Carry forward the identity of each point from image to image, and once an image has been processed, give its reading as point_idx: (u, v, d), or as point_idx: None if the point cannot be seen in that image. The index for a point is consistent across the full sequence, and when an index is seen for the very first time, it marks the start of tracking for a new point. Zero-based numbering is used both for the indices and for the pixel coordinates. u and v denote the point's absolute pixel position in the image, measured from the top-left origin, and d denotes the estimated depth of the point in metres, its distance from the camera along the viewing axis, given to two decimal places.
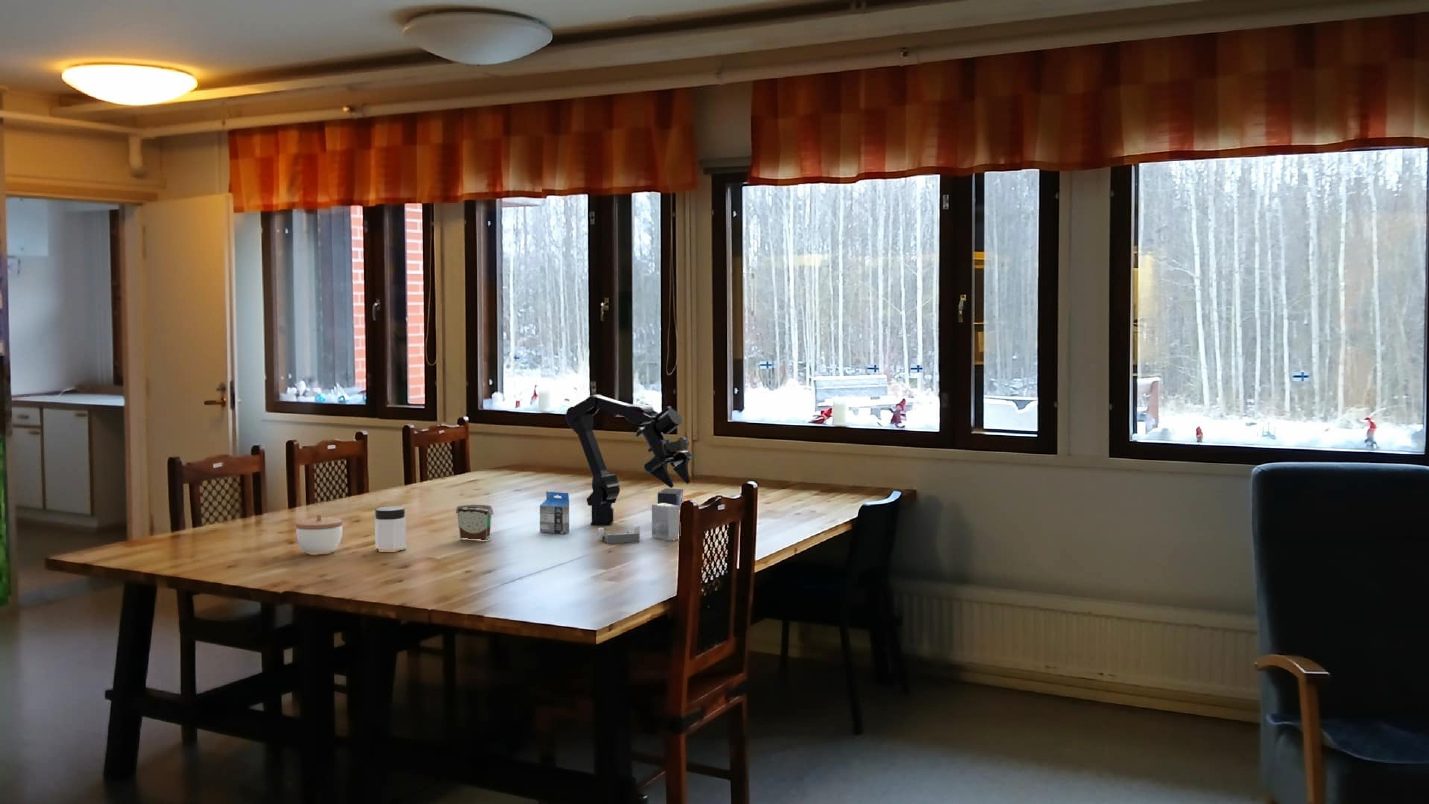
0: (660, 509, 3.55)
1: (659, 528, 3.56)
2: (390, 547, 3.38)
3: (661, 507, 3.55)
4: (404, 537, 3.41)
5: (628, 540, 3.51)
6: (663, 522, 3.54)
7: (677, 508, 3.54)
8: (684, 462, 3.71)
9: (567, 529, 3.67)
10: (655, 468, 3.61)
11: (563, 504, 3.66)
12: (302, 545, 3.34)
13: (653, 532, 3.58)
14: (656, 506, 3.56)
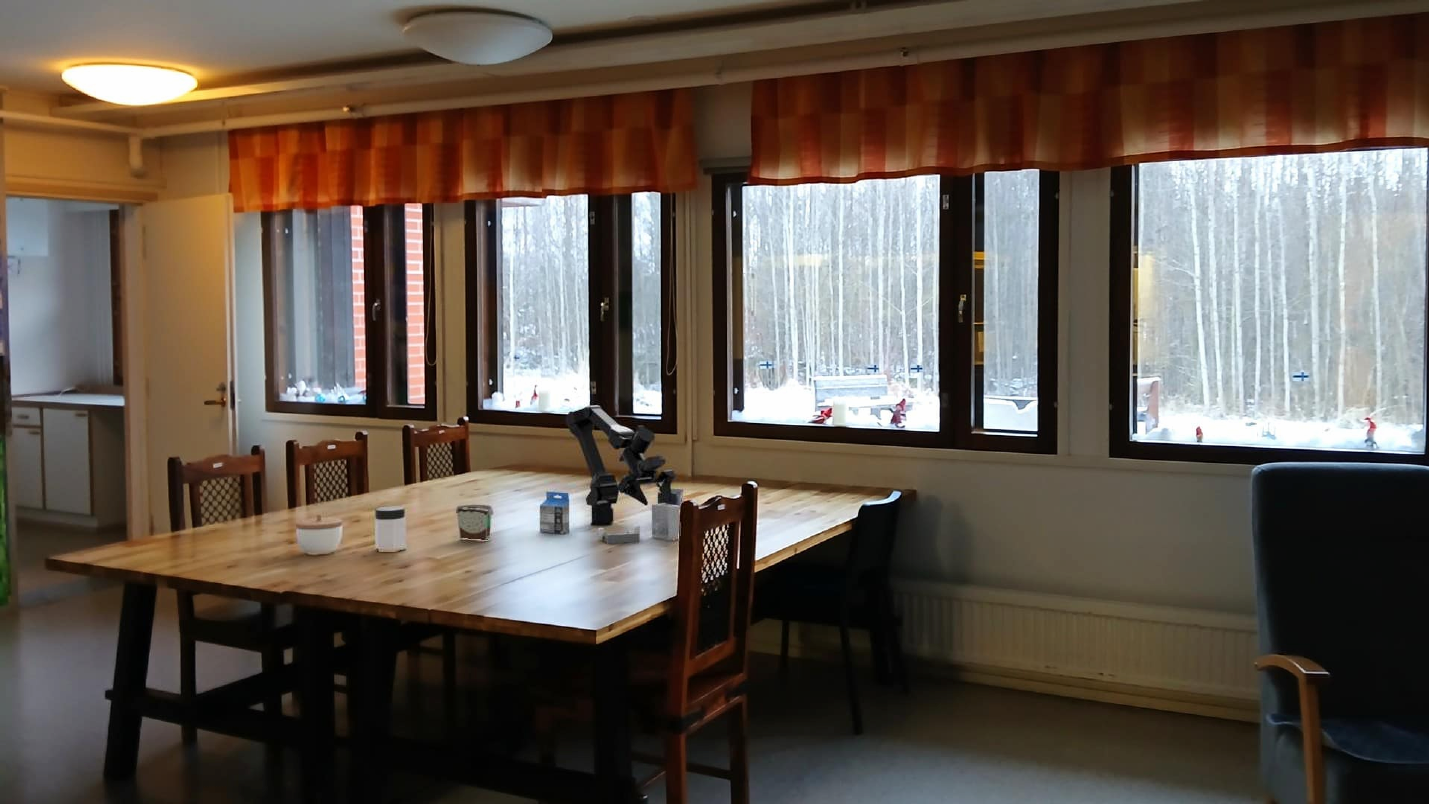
0: (660, 509, 3.55)
1: (659, 528, 3.56)
2: (390, 547, 3.38)
3: (661, 507, 3.55)
4: (404, 537, 3.41)
5: (628, 540, 3.51)
6: (663, 522, 3.54)
7: (677, 508, 3.54)
8: (666, 481, 3.64)
9: (567, 529, 3.67)
10: (627, 487, 3.57)
11: (563, 504, 3.66)
12: (302, 545, 3.34)
13: (653, 532, 3.58)
14: (656, 506, 3.56)
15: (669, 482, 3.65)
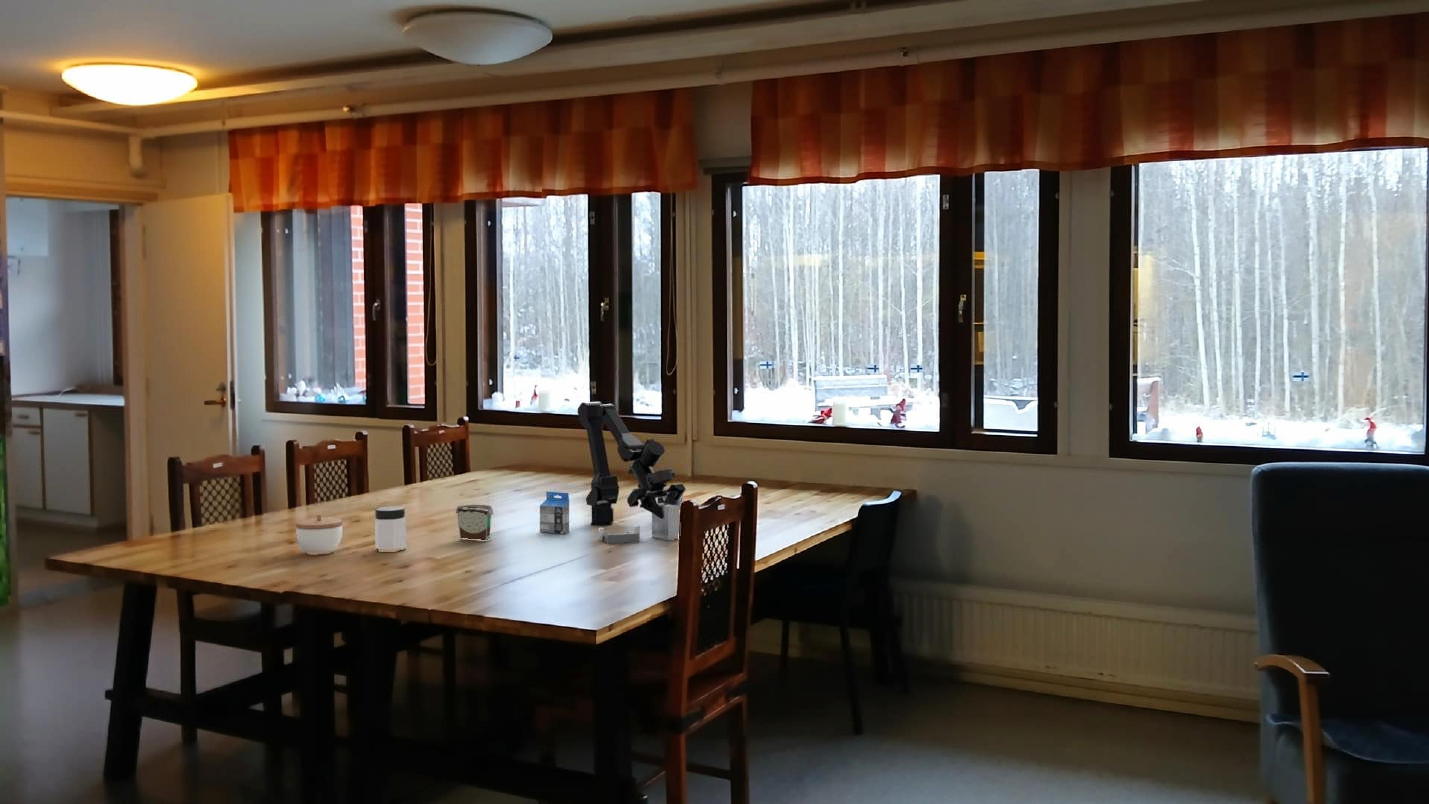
0: (660, 509, 3.55)
1: (659, 528, 3.56)
2: (390, 547, 3.38)
3: (661, 507, 3.55)
4: (404, 537, 3.41)
5: (628, 540, 3.51)
6: (663, 522, 3.54)
7: (677, 508, 3.54)
8: (670, 495, 3.60)
9: (567, 529, 3.67)
10: (643, 500, 3.55)
11: (563, 504, 3.66)
12: (302, 545, 3.34)
13: (653, 532, 3.58)
14: None
15: (673, 496, 3.60)
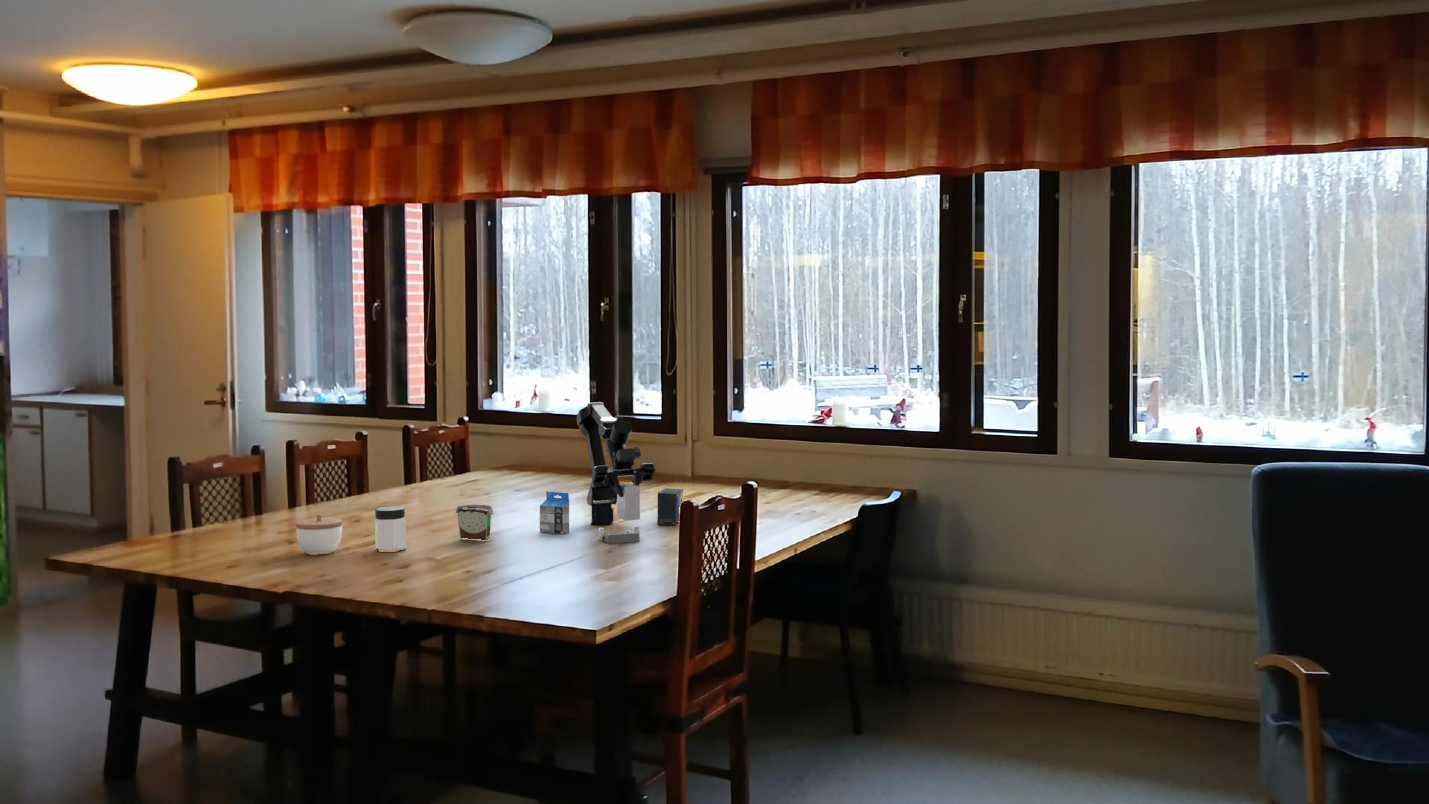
0: (621, 488, 3.54)
1: (620, 507, 3.55)
2: (390, 547, 3.38)
3: (621, 486, 3.54)
4: (404, 537, 3.41)
5: (628, 540, 3.51)
6: (622, 501, 3.53)
7: (636, 488, 3.52)
8: (635, 474, 3.57)
9: (567, 529, 3.67)
10: (605, 478, 3.56)
11: (563, 504, 3.66)
12: (302, 545, 3.34)
13: (617, 511, 3.58)
14: None
15: (639, 476, 3.58)
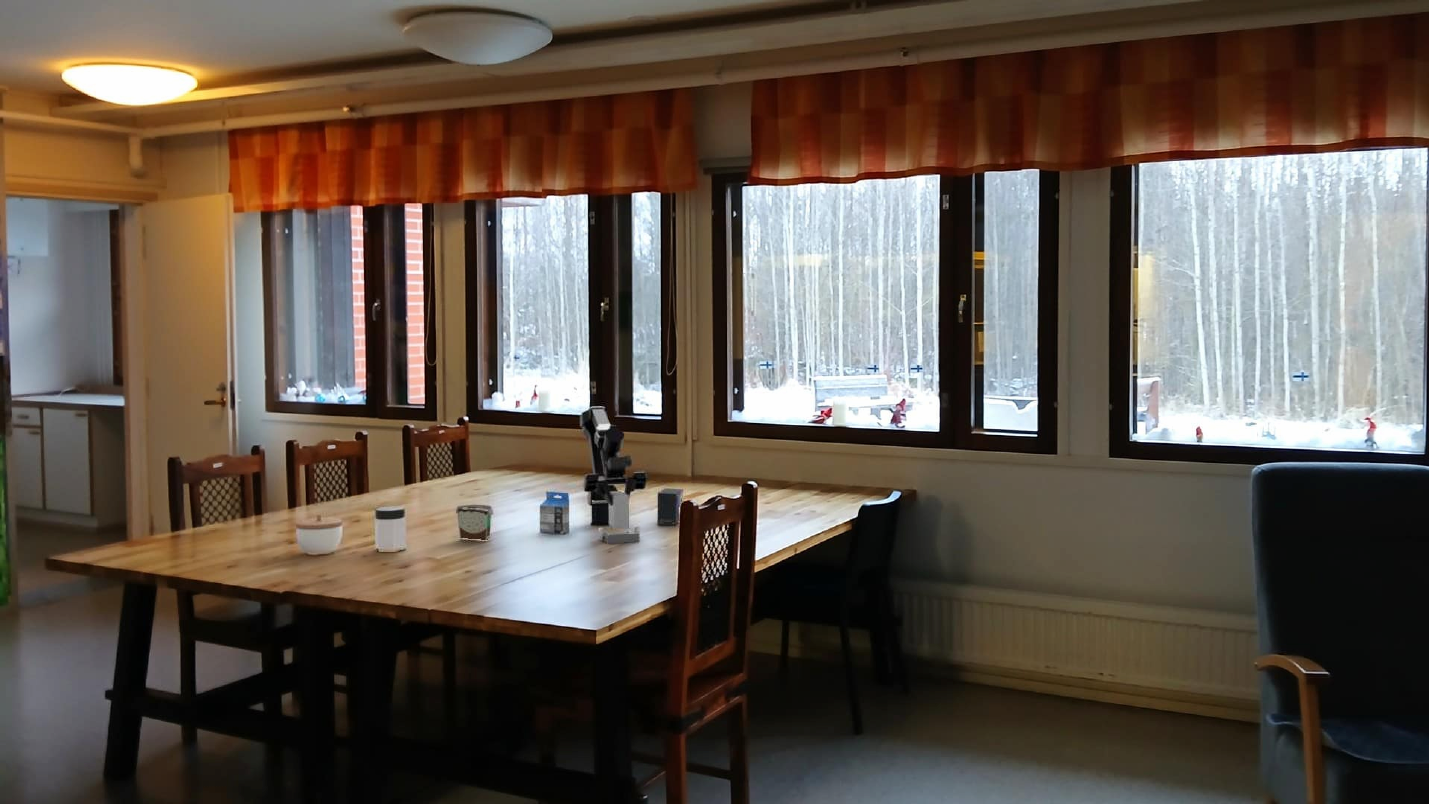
0: (611, 497, 3.55)
1: (611, 516, 3.56)
2: (390, 547, 3.38)
3: (611, 495, 3.54)
4: (404, 537, 3.41)
5: (628, 540, 3.51)
6: (612, 510, 3.54)
7: (625, 497, 3.52)
8: (626, 483, 3.58)
9: (567, 529, 3.67)
10: (597, 486, 3.57)
11: (563, 504, 3.66)
12: (302, 545, 3.34)
13: (609, 519, 3.59)
14: (610, 493, 3.57)
15: (630, 484, 3.58)
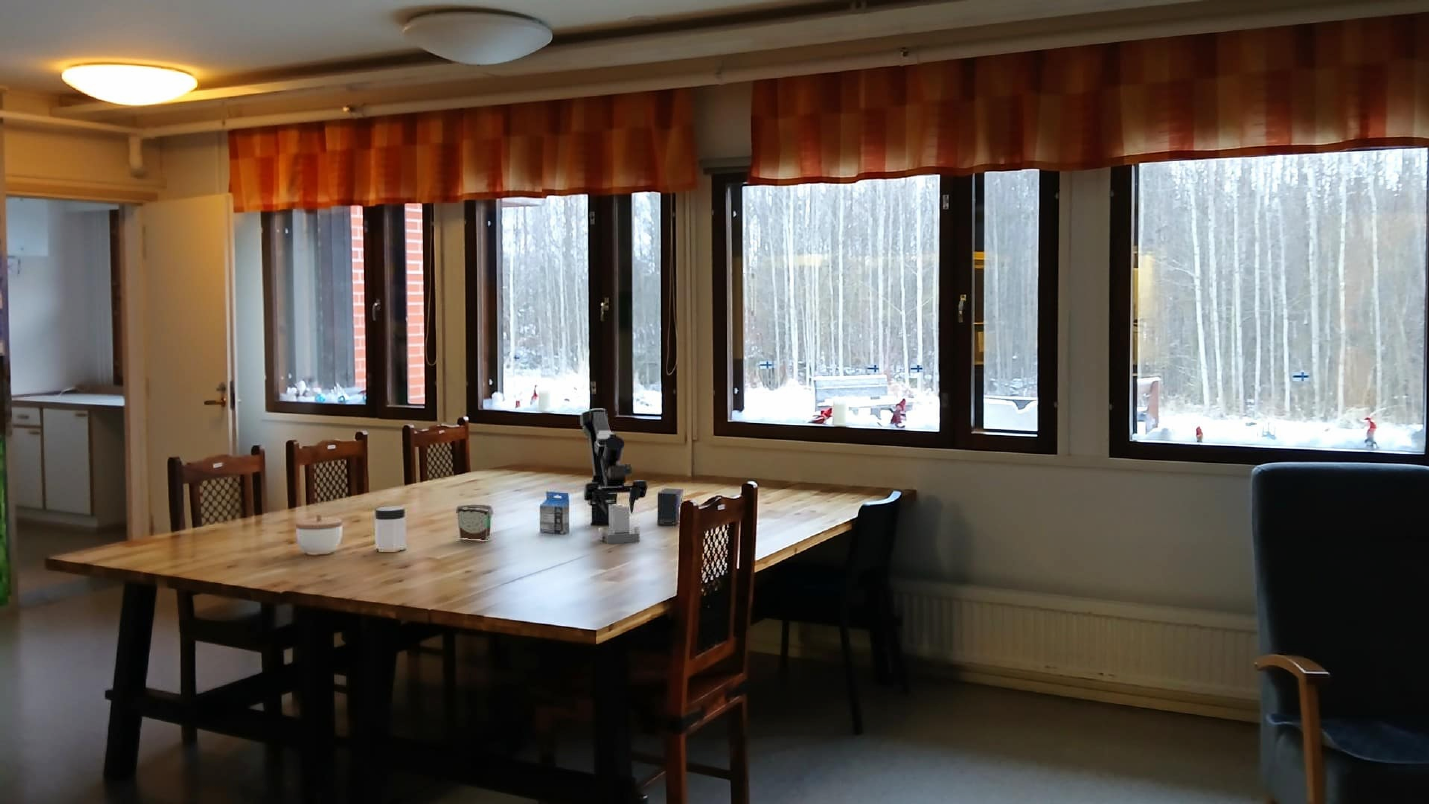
0: (611, 509, 3.55)
1: (611, 528, 3.56)
2: (390, 547, 3.38)
3: (611, 507, 3.54)
4: (404, 537, 3.41)
5: (628, 540, 3.51)
6: (612, 522, 3.54)
7: (625, 509, 3.52)
8: (631, 491, 3.58)
9: (567, 529, 3.67)
10: (592, 495, 3.57)
11: (563, 504, 3.66)
12: (302, 545, 3.34)
13: (609, 532, 3.59)
14: (610, 506, 3.57)
15: (634, 493, 3.58)
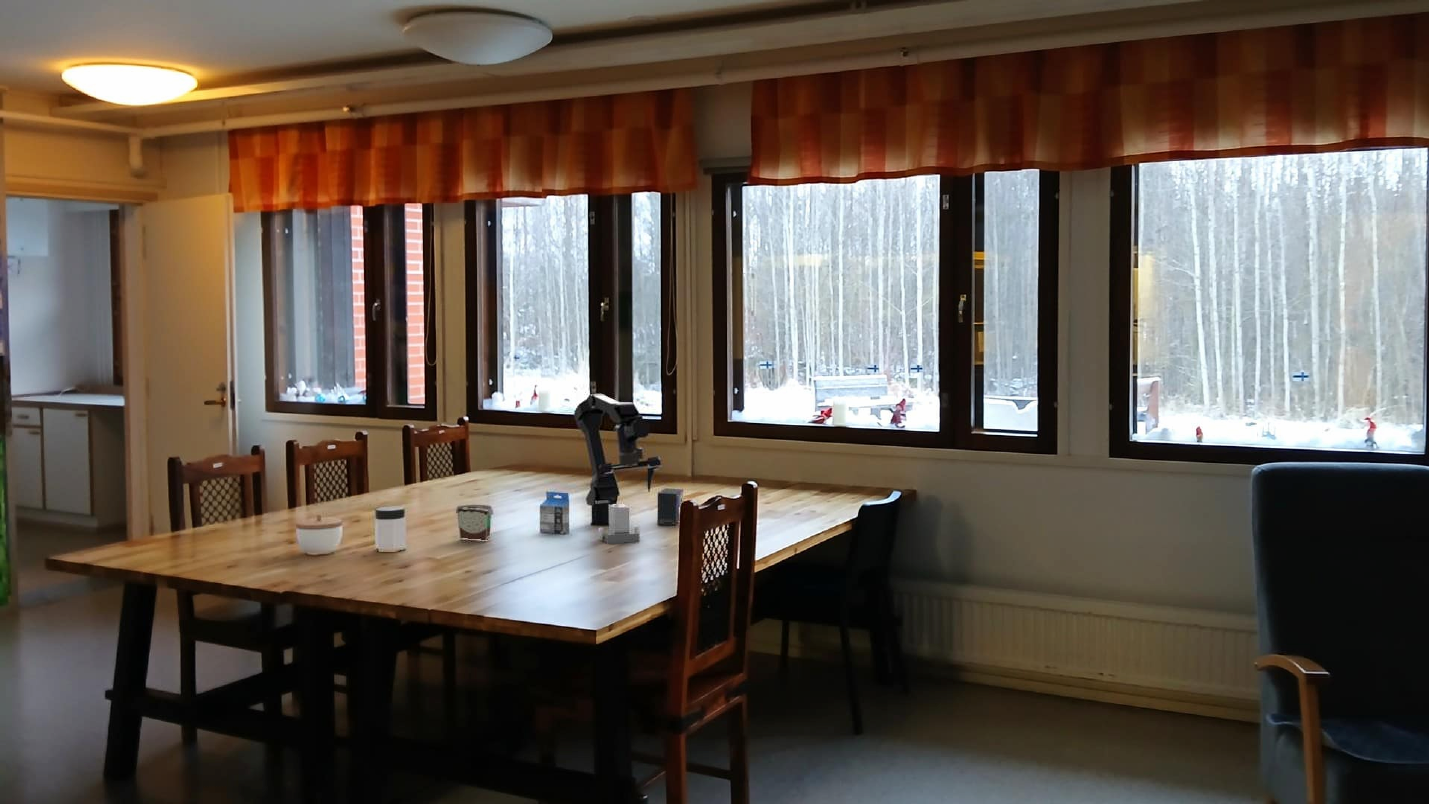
0: (611, 509, 3.55)
1: (611, 528, 3.56)
2: (390, 547, 3.38)
3: (611, 507, 3.54)
4: (404, 537, 3.41)
5: (628, 540, 3.51)
6: (612, 522, 3.54)
7: (625, 509, 3.52)
8: None
9: (567, 529, 3.67)
10: None
11: (563, 504, 3.66)
12: (302, 545, 3.34)
13: (609, 532, 3.59)
14: (610, 506, 3.57)
15: (651, 472, 3.63)
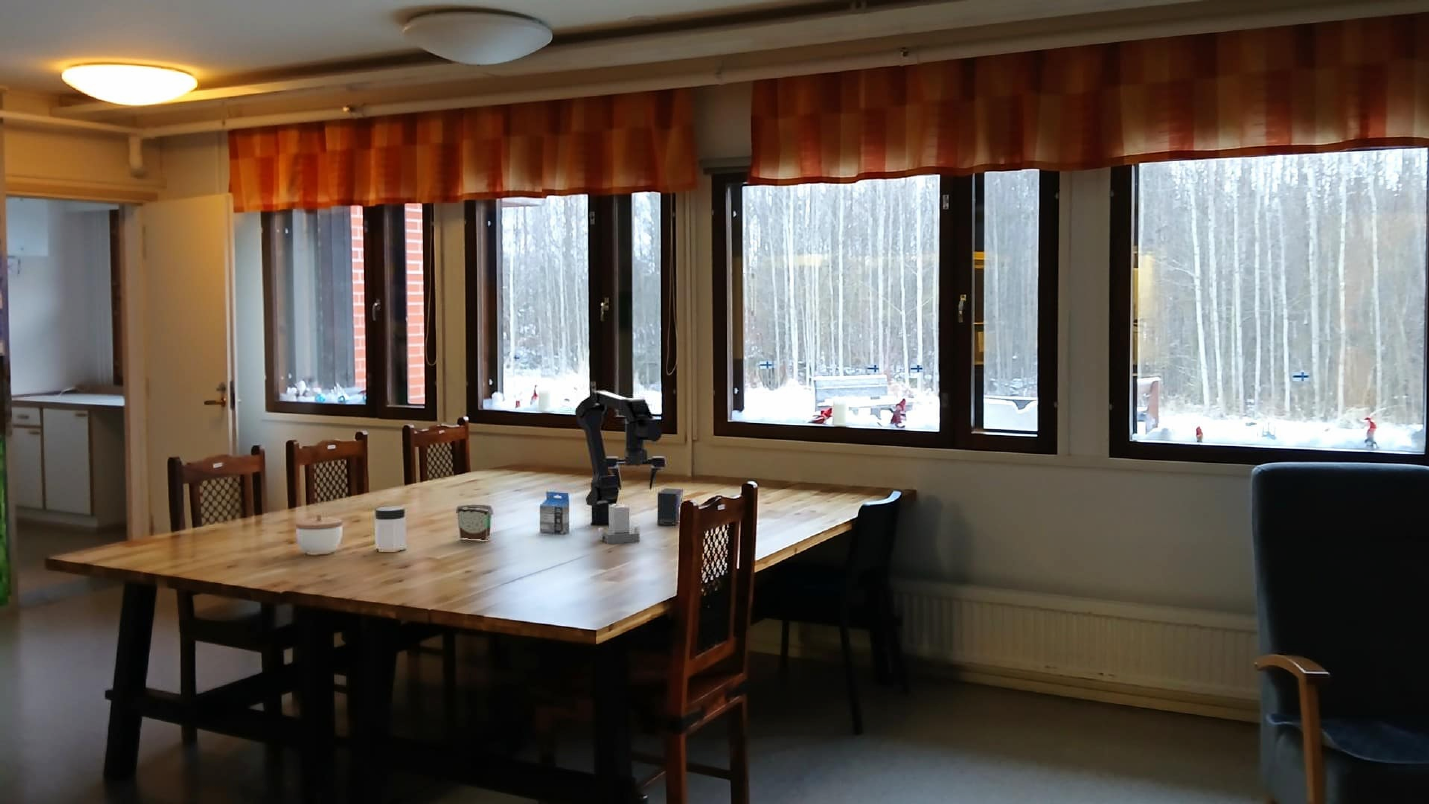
0: (611, 509, 3.55)
1: (611, 528, 3.56)
2: (390, 547, 3.38)
3: (611, 507, 3.54)
4: (404, 537, 3.41)
5: (628, 540, 3.51)
6: (612, 522, 3.54)
7: (625, 509, 3.52)
8: (651, 469, 3.65)
9: (567, 529, 3.67)
10: None
11: (563, 504, 3.66)
12: (302, 545, 3.34)
13: (609, 532, 3.59)
14: (610, 506, 3.57)
15: (654, 472, 3.66)
